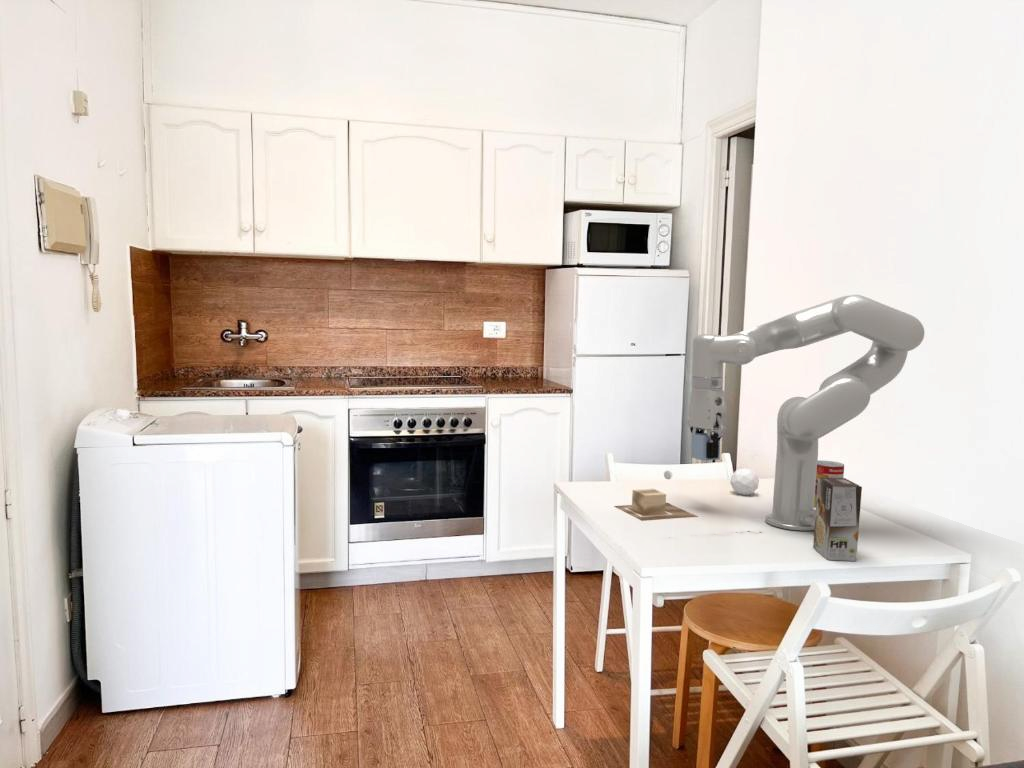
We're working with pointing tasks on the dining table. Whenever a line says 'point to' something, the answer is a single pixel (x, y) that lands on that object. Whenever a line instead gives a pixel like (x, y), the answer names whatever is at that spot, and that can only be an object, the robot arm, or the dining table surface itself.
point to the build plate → (670, 513)
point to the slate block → (701, 446)
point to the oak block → (648, 502)
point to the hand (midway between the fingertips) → (705, 455)
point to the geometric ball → (744, 481)
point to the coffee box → (837, 518)
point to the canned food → (828, 472)
